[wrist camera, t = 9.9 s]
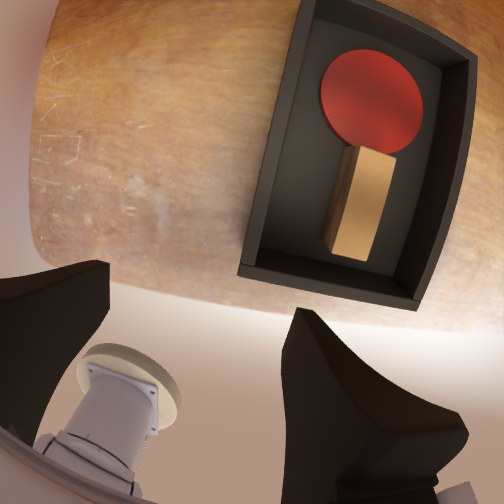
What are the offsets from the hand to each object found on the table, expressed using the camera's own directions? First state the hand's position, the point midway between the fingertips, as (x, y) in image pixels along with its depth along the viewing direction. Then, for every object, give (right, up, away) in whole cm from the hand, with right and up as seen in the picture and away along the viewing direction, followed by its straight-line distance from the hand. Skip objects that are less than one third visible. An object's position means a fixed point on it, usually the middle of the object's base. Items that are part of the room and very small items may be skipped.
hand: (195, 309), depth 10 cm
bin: (+9, +9, +6) cm, 14 cm away
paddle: (+9, +9, +6) cm, 14 cm away
